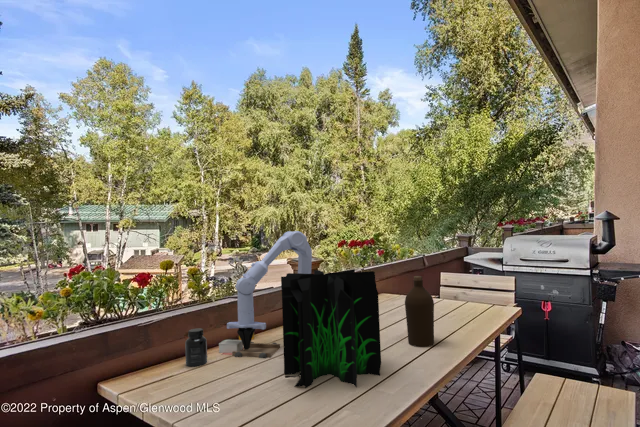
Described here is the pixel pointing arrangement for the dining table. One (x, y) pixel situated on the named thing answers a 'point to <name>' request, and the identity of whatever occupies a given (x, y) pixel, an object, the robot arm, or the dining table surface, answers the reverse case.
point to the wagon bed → (258, 350)
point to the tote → (230, 346)
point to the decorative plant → (330, 325)
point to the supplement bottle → (196, 348)
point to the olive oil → (419, 315)
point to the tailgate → (228, 353)
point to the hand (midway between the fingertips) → (246, 348)
